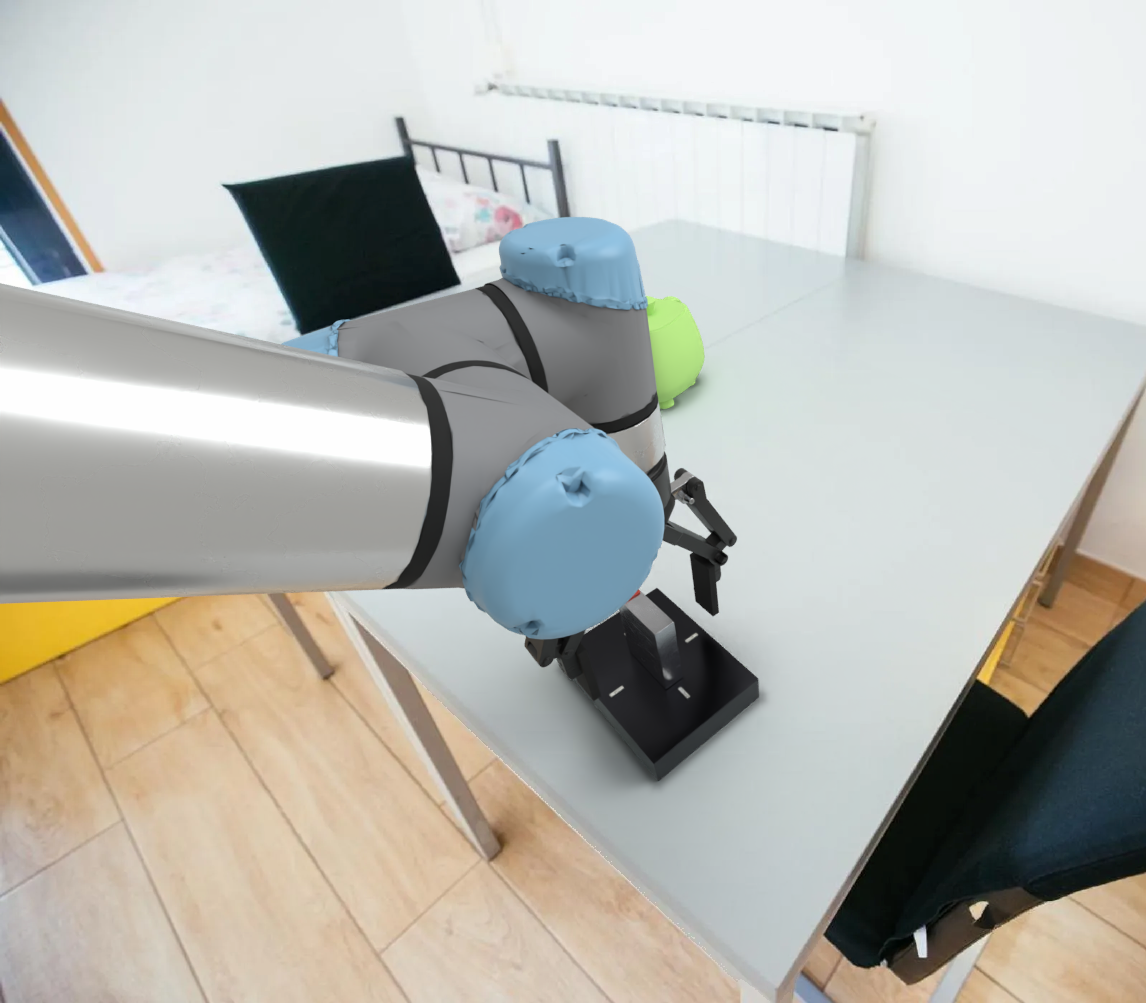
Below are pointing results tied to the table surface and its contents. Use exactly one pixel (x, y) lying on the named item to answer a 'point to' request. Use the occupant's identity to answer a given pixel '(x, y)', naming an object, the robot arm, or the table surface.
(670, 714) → the panel
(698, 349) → the teapot
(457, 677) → the table surface
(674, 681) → the red-tipped metal bar
